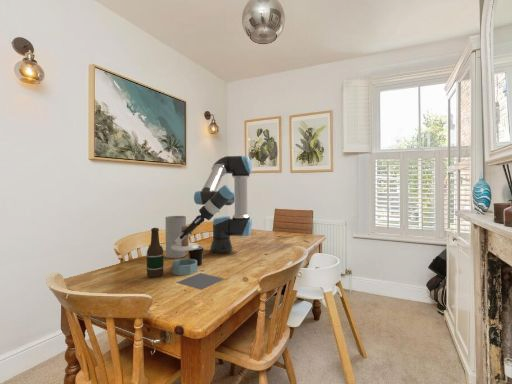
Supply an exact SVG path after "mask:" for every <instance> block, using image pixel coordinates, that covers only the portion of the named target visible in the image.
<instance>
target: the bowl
mask: <svg viewBox="0 0 512 384" xmlns="http://www.w3.org/2000/svg"><path fill="white" fill-rule="evenodd" d="M171 263H172V264H171V267H172V268H171V274H173V275H176V276H190V275H192V274H195V273H198V266H197V260H194V259H189V258H183V259H181V258H179V259H177V260H174V261H172V262H171Z"/></svg>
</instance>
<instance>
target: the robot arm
mask: <svg viewBox="0 0 512 384" xmlns="http://www.w3.org/2000/svg"><path fill="white" fill-rule="evenodd" d="M252 170H253V167H252V162H251V158H250V157H249V156H248V155H233V156H232V155H228V156H227V155H226V156H224V157H221V158H219V159H217V161H215V162H214V163H213V165H212V167H211V172H210V174H209V176H208V178H207V179H206V182H205V184H204V185H203V187H202V189H201V190H198V191H195V192H194V194H193V201H194V203H195V204H196V205H200V206H202V207H201V208H200V209H198V212H199V215H197V216H195V218H194V220H192V222H191V223H190V224H189V225H187V226H188V227H187V228H186V229H185V230H184V231H182V232H183V233H182V234H181V235H180V236H179V237H178V238H177V239H176V240H175V242H176V243H177V244H179V243H181V242H182V240H183V239H184V238H185V237H186V236H187V235H188V236H189V235H192V232H193V231H194V230H195V229H197V227H198V226H200V225H201V224H202V223H204V222H205V219H206V220H208V221H211V219H212V218H213V217H214V216H215V215H216V214H217V213H220V210H222V208H223V207H224V206H232V205H233V204H234V214H233V215H232V216H230V215H229V216H227V215H226V216H219V217H215V218H214V219H213V221H212V242H211V245H210V252H211V253H214V254H226V253H230V252H232V251H233V245H232V242H231V237H248V236H250V234H251V232H252V227H253V220H252V219H251V217H250V215H249V214H248V178H250V174H252V172H253V171H252ZM226 174H231V177H232V178H233V179H234V183H233V185H234V191H233V190H232V189H231V188H230V187H229V186H228V185H227V184H224V185H222V186H221V187H220V188H219V190H217V189H218V187H219V185H220V183H221V180H222V178H223V177H224V176H225V175H226ZM231 217H232V218H231Z"/></svg>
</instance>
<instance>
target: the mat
mask: <svg viewBox="0 0 512 384" xmlns="http://www.w3.org/2000/svg"><path fill="white" fill-rule="evenodd" d="M224 280H225V278H223V277H219V276H215V275H211V274H207V273H202V272H200V273H197V274H194V275H192V276H189V277H186V278H183V279H181V280H180V281H176V282H175V283H177V284H180V285H184V286H186V287H187V286H188V287H190V288H195V289H197V290H201V291H203V290H205V289H206V288H208V287H211V286H213V285H215V284H217V283H219V282H221V281H224Z"/></svg>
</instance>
